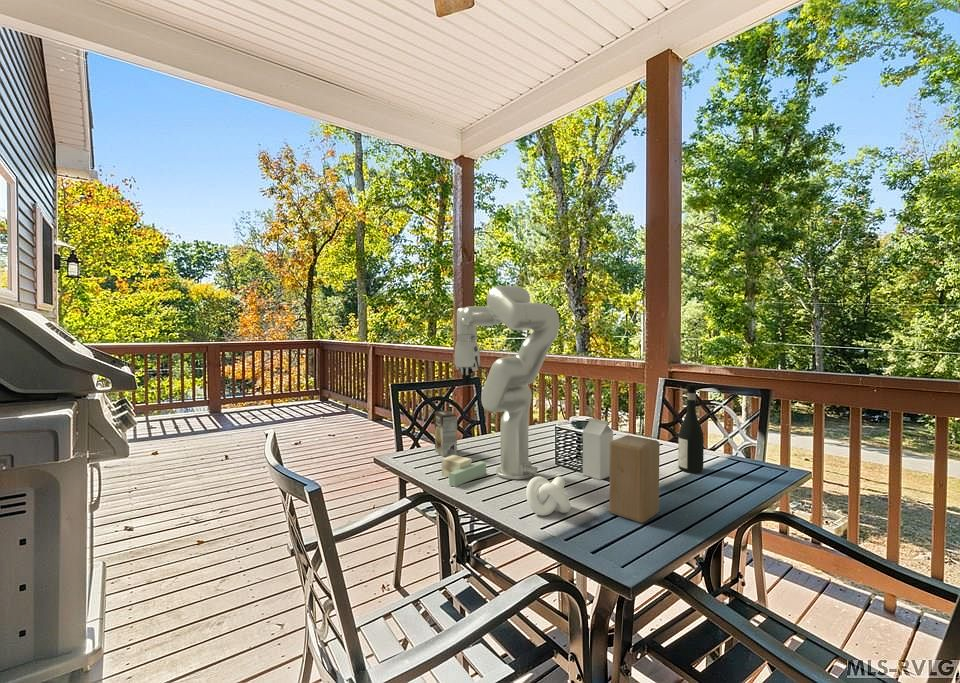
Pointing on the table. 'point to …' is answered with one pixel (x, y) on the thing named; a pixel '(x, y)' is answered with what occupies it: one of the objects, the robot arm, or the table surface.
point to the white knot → (547, 496)
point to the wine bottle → (691, 437)
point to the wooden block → (634, 478)
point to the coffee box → (446, 433)
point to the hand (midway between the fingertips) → (466, 384)
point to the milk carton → (597, 449)
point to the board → (467, 473)
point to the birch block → (454, 464)
